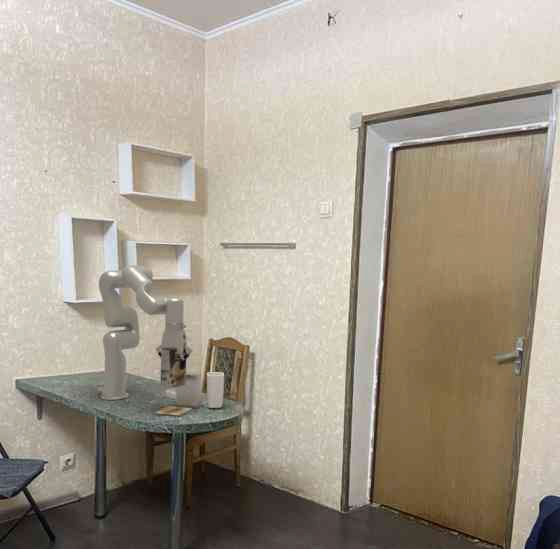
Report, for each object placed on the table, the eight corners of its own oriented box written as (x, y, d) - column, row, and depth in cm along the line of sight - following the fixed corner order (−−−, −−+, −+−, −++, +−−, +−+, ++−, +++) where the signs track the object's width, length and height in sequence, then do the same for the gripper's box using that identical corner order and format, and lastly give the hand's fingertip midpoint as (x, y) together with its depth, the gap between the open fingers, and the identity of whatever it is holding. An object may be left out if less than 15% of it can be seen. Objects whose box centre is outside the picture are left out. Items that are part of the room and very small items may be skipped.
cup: (206, 405, 217) (206, 372, 217) (222, 405, 218) (223, 372, 218) (206, 409, 210) (207, 375, 210) (223, 409, 211) (224, 375, 211)
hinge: (163, 394, 236) (169, 374, 238) (171, 396, 239) (177, 376, 241) (181, 401, 224) (188, 379, 226) (190, 403, 227) (196, 382, 229)
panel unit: (172, 406, 214) (173, 374, 214) (178, 403, 220) (179, 371, 220) (197, 409, 211) (198, 375, 211) (203, 405, 216) (203, 373, 217)
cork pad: (153, 414, 202) (153, 412, 202) (166, 407, 213) (166, 405, 213) (179, 416, 199) (179, 415, 199) (191, 409, 209) (191, 408, 209)
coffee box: (170, 389, 200) (171, 350, 200) (159, 386, 204) (160, 348, 204) (186, 385, 208) (187, 347, 208) (176, 383, 211) (176, 346, 211)
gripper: (196, 327, 207) (196, 368, 207) (160, 325, 212) (159, 365, 212) (189, 328, 200) (188, 371, 200) (151, 327, 205) (150, 368, 205)
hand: (173, 368), depth 206 cm, fingers closed on coffee box, 7 cm apart
